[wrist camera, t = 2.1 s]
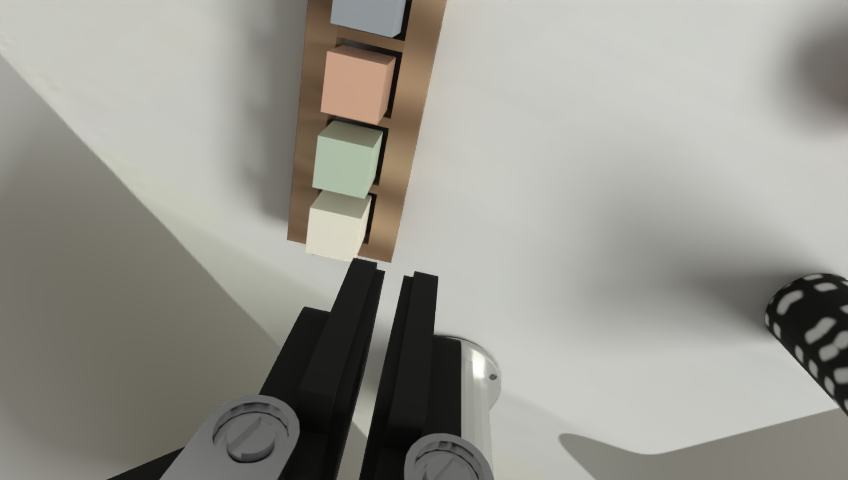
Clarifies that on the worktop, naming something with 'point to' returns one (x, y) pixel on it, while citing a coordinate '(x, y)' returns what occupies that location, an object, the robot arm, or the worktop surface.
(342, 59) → the key terracotta
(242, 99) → the worktop surface
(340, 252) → the cream block
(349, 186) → the key sage
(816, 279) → the spotted tube
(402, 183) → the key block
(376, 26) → the grey block
